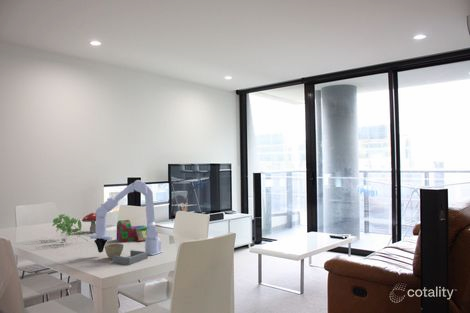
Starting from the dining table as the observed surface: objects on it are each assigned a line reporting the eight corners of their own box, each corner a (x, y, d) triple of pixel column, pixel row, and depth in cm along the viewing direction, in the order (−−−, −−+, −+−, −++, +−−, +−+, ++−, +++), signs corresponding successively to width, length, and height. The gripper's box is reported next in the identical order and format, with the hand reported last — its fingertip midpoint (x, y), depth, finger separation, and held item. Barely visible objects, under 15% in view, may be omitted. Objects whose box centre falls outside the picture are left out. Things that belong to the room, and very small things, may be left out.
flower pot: (115, 261, 200) (115, 247, 200) (100, 259, 203) (100, 246, 204) (127, 257, 209) (127, 244, 209) (112, 255, 213) (113, 242, 213)
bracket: (131, 256, 211) (131, 250, 211) (147, 258, 206) (147, 252, 206) (112, 262, 197) (113, 255, 197) (129, 264, 192) (129, 258, 193)
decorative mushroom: (77, 233, 281) (77, 213, 281) (91, 230, 296) (91, 211, 296) (94, 234, 276) (95, 214, 276) (108, 231, 291) (108, 212, 292)
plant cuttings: (68, 246, 267) (41, 230, 255) (83, 226, 274) (57, 209, 263) (85, 255, 241) (57, 237, 229) (101, 232, 248) (74, 214, 237)
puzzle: (124, 244, 244) (125, 222, 245) (116, 240, 258) (116, 219, 258) (160, 240, 259) (160, 219, 259) (150, 236, 273) (150, 216, 273)
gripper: (86, 228, 210) (85, 252, 209) (105, 230, 204) (105, 254, 204) (95, 226, 216) (94, 249, 216) (114, 228, 210) (114, 252, 210)
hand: (100, 252), depth 210 cm, fingers closed
